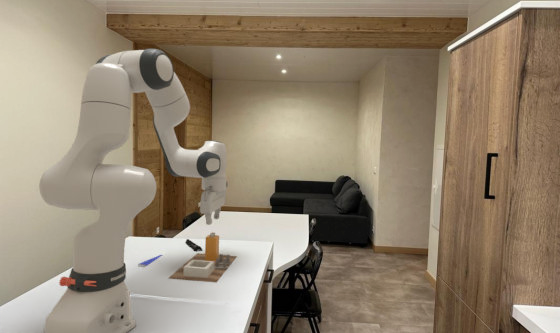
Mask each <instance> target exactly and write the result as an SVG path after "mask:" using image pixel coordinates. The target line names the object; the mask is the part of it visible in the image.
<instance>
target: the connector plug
mask: <svg viewBox="0 0 560 333" xmlns="http://www.w3.org/2000/svg"><path fill="white" fill-rule="evenodd" d="M204 254H205V261H215V262H216V258H219V255H220V235H216V232H213V231H212V232H210V234H208V235H206V236H205V249H204Z"/></svg>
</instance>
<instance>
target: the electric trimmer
mask: <svg viewBox="0 0 560 333" xmlns="http://www.w3.org/2000/svg"><path fill="white" fill-rule="evenodd" d="M184 243H185V244H186V246H188V247H189V248H190V249H192V250H193V252H196V253H198V252H203V251H204V250H203V248H202V247H201V246H199V245H198V244H196V243H195V242H194V241H192V240H190V239H186V240H185V242H184Z"/></svg>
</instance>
